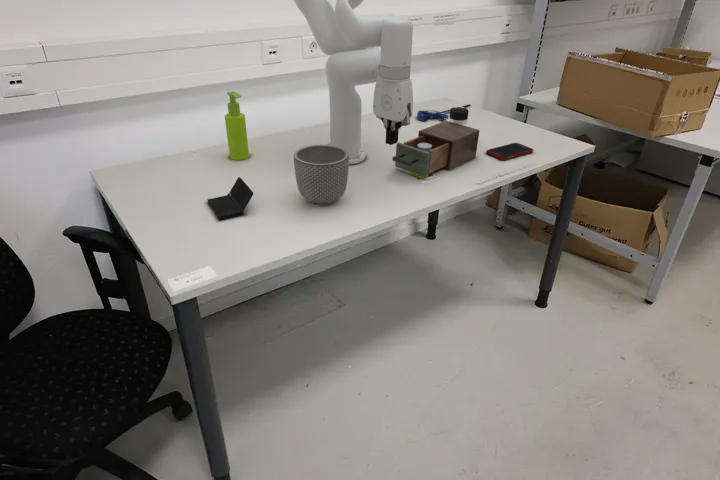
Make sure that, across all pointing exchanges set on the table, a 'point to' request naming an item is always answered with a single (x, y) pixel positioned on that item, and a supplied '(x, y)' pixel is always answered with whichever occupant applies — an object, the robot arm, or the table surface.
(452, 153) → the cabinet
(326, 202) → the planter
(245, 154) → the soap dispenser
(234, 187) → the handheld gaming console
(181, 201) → the table surface
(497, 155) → the cell phone
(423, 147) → the shaker
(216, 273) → the table surface
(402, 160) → the drawer
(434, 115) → the bar clamp
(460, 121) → the medicine bottle
